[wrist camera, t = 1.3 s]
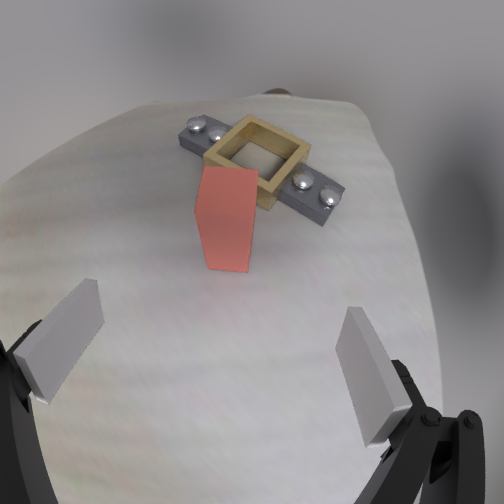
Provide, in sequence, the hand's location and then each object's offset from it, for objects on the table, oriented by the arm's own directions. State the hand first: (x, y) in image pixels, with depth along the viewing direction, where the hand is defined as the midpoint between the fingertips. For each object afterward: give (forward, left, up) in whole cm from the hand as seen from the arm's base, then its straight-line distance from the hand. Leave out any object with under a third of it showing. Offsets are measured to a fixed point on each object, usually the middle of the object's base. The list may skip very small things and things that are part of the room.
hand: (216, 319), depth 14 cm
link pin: (-5, +8, -13) cm, 16 cm away
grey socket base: (-9, +19, -13) cm, 24 cm away
